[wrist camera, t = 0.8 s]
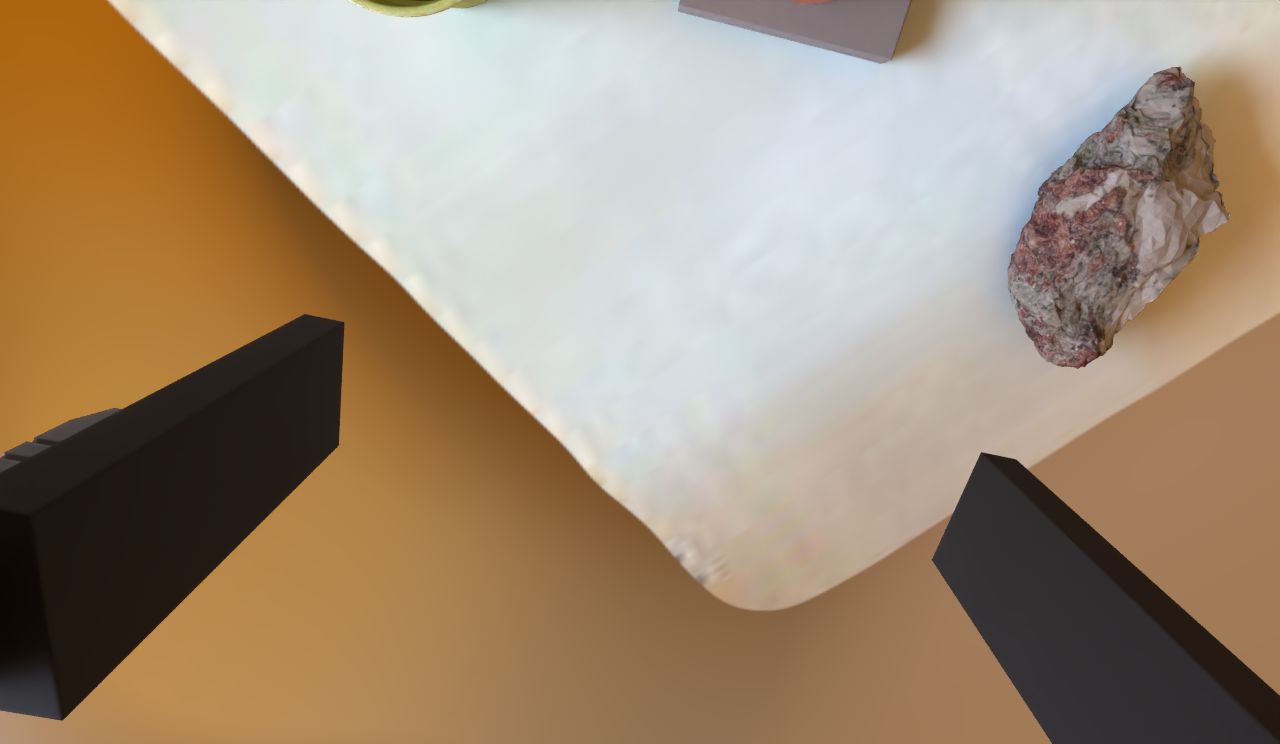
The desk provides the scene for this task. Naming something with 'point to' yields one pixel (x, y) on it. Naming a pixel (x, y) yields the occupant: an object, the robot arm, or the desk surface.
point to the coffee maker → (815, 22)
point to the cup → (814, 1)
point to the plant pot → (413, 6)
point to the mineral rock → (1116, 223)
